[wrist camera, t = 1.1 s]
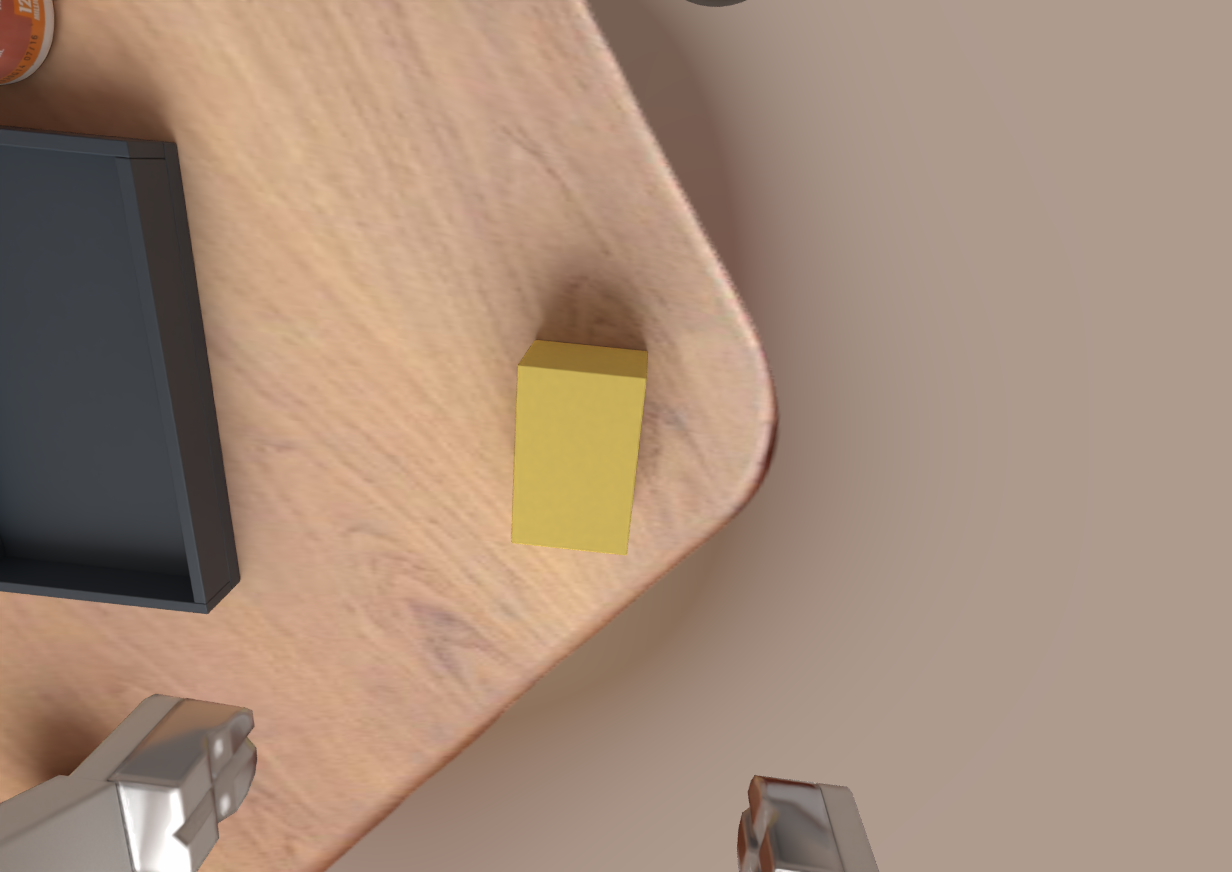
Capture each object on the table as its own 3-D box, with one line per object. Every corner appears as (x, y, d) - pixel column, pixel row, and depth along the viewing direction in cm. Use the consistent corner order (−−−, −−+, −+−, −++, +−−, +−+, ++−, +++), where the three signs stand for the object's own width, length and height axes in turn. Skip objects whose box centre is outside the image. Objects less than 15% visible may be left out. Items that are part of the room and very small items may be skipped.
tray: (-118, 113, 27) (-199, 108, 25) (176, 142, 27) (126, 140, 24) (13, 556, 35) (-38, 587, 33) (240, 581, 35) (207, 614, 33)
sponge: (534, 339, 29) (517, 364, 26) (647, 350, 29) (646, 377, 26) (527, 500, 32) (510, 543, 29) (630, 511, 32) (626, 556, 29)
